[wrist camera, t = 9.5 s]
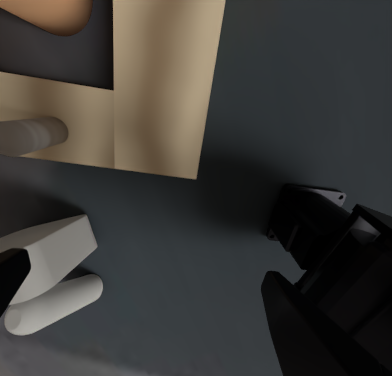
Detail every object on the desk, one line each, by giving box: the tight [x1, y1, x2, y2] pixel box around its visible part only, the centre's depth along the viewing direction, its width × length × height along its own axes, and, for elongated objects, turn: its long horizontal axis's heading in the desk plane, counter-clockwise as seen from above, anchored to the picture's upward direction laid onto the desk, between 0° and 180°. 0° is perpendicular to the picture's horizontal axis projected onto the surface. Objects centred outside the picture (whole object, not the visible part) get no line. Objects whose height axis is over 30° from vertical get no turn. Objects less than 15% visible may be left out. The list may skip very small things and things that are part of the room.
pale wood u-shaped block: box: [0, 0, 225, 179], centre depth 12 cm, size 18×16×6 cm
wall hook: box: [0, 214, 103, 335], centre depth 18 cm, size 8×10×10 cm
